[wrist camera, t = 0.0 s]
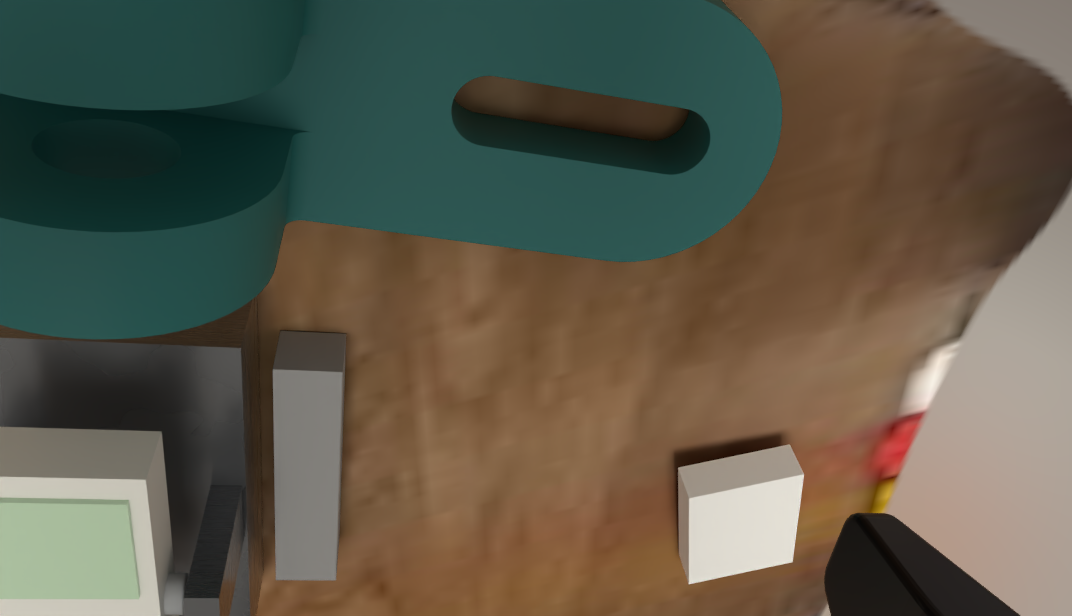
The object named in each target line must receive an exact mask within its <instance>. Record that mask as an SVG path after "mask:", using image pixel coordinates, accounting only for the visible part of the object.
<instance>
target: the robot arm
mask: <svg viewBox="0 0 1072 616" xmlns="http://www.w3.org/2000/svg"><path fill="white" fill-rule="evenodd" d="M824 584H825V592H826V597H827V601H828V605H829V609H830V613H831V616H1020V615H1019V614H1018V613H1016V612H1015V611H1014V610H1013V609H1011V608H1010V607H1009V606H1007V605H1006V604H1005V603H1004V602H1003V601H1001V600H1000V599H999V598H998V597H996V596H995V595H994V594H992V593H991V592H990V591H989V590H987V589H986V588H985V587H984V586H982V585H981V584H980V583H978V582H977V581H976V580H974V579H973V578H972V577H971V576H970V575H968V574H967V573H966V572H964V571H963V570H962V569H961V568H959V567H958V566H957V565H955V564H954V563H953V562H952V561H950V560H949V559H948V558H946V557H945V556H944V555H943V554H942V553H940V552H939V551H938V550H937V549H935V548H934V547H933V546H931V545H930V544H929V543H928V542H926V541H925V540H924V539H923V538H921V537H920V536H919V535H917V534H916V533H915V532H914V531H912V530H911V529H910V528H909V527H907V526H906V525H905V524H903V523H902V522H901V521H899V520H898V519H897V518H895V517H894V516H892V515H889V514H885V513H855V514H852V515H851V516H850V517H849V518H847V520H846V521H845V523H844V525H843V528H842V530H841V533H840V535H839V537H838V540H837V542H836V545H835V547H834V549H833V552H832V554H831V557H830V559H829V561H828V564H827V567H826V570H825V578H824Z"/></svg>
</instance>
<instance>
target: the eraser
mask: <svg viewBox="0 0 1072 616" xmlns="http://www.w3.org/2000/svg"><path fill="white" fill-rule="evenodd" d="M803 478H804V473H803V471H802V469H801V467H800V465H799V463H798V461H797V459H796V457H795V454H794V452H793V450H792V448H791V446H790V444H789V445H784V446H780V447H775V448H770V449H765V450H760V451H756V452H751V453H746V454H741V455H736V456H731V457H727V458H722V459H717V460H712V461H707V462H703V463H698V464H693V465H688V466H683V467H678V518H679V556H680V559H681V562H682V565H683V568H684V571H685V574H686V577H687V580H688V583H689V584H693V583H697V582H702V581H707V580H711V579H716V578H720V577H725V576H730V575H734V574H739V573H744V572H748V571H753V570H758V569H762V568H767V567H772V566H776V565H781V564H786V563H790V562H793V554H794V547H795V539H796V531H797V524H798V516H799V509H800V501H801V493H802V486H803Z"/></svg>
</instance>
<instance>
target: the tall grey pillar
mask: <svg viewBox="0 0 1072 616" xmlns="http://www.w3.org/2000/svg"><path fill="white" fill-rule="evenodd" d="M345 355H346V334H340V333H318V332H297V331H280V335H279V340H278V345H277V350H276V355H275V360H274V366H273V420H274V487H275V555H276V580H336V573H337V560H338V547H339V531H340V502H341V473H342V443H343V414H344V385H345Z"/></svg>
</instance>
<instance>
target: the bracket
mask: <svg viewBox="0 0 1072 616" xmlns="http://www.w3.org/2000/svg"><path fill="white" fill-rule="evenodd" d="M482 76H497V77H502V78H508V79H514V80H520V81H526V82H532V83H538V84H543V85H549V86H555V87H561V88H567V89H573V90H579V91H585V92H590V93H596V94H602V95H608V96H614V97H620V98H626V99H631V100H637V101H643V102H649V103H655V104H661V105H667V106H673V107H678V108H684V109H689V114H688V117H687V119H686V121H685V123H684V125H683V126H682V127H681V128H680V130H679V131H677V132H676V133H675V134H674V135H672V136H670V137H668V138H666V139H663V140H659V141H648V140H642V139H635V138H629V137H623V136H617V135H611V134H605V133H598V132H592V131H586V130H580V129H574V128H567V127H561V126H555V125H549V124H543V123H537V122H530V121H524V120H518V119H512V118H506V117H500V116H493V115H487V114H481V113H475V112H471V111H469V110H466V109H465V108H463V107H462V106H460V105H459V104H458V103H457V102H456V101H455V99H454V97H455V95H456V94H457V92H458V91H459V89H460V88H461V87H462V86H463V85H464V84H466V83H467V82H469V81H470V80H472V79H475V78H478V77H482ZM781 125H782V101H781V92H780V87H779V83H778V79H777V76H776V73H775V70H774V67H773V65H772V63H771V61H770V58H769V56H768V54H767V53H766V51H765V49H764V48H763V46H762V45H761V43H760V42H759V40H758V39H757V38H756V37H755V36H754V35H753V33H752V32H751V31H750V30H749V29H748V28H747V27H746V26H745V25H744V24H743V23H742V21H741V20H740V19H739V18H738V17H737V16H736V15H735V14H734V13H733V12H732V11H731V10H730V9H729V8H728V7H727V6H726V5H725V4H724V3H723V2H722V1H721V0H0V325H3V326H6V327H9V328H13V329H17V330H22V331H26V332H30V333H36V334H42V335H48V336H55V337H64V338H75V339H127V338H140V337H148V336H155V335H162V334H167V333H172V332H177V331H181V330H185V329H189V328H193V327H197V326H200V325H203V324H205V323H208V322H211V321H214V320H216V319H219V318H221V317H223V316H226V315H228V314H230V313H232V312H233V311H235V310H237V309H239V308H241V307H242V306H244V305H245V304H247V303H248V302H249V301H251V300H252V299H253V298H255V297H256V296H257V295H258V294H259V293H260V292H261V291H262V290H263V289H264V287H265V286H266V285H267V284H268V282H269V281H270V279H271V277H272V275H273V273H274V270H275V267H276V263H277V258H278V254H279V249H280V245H281V240H282V236H283V231H284V227H285V225H286V224H287V223H289V222H291V221H295V220H306V221H313V222H321V223H328V224H336V225H343V226H351V227H358V228H366V229H373V230H381V231H388V232H396V233H403V234H411V235H418V236H426V237H433V238H440V239H448V240H455V241H463V242H470V243H478V244H485V245H493V246H500V247H508V248H515V249H523V250H530V251H538V252H545V253H553V254H560V255H568V256H575V257H583V258H590V259H597V260H605V261H616V262H635V261H644V260H651V259H656V258H661V257H665V256H668V255H671V254H675V253H678V252H680V251H683V250H685V249H688V248H690V247H692V246H694V245H696V244H698V243H700V242H702V241H704V240H705V239H707V238H708V237H710V236H712V235H713V234H715V233H716V232H717V231H719V230H720V229H721V228H723V227H724V226H725V225H727V224H728V223H729V222H730V221H731V220H732V219H733V218H734V217H735V216H737V215H738V214H739V213H740V211H741V210H742V209H743V208H744V207H745V206H746V205H747V204H748V203H749V201H750V200H751V199H752V197H753V196H754V195H755V193H756V192H757V190H758V189H759V187H760V186H761V184H762V182H763V181H764V179H765V177H766V175H767V173H768V171H769V169H770V167H771V164H772V162H773V159H774V156H775V154H776V150H777V146H778V142H779V139H780V132H781Z"/></svg>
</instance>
